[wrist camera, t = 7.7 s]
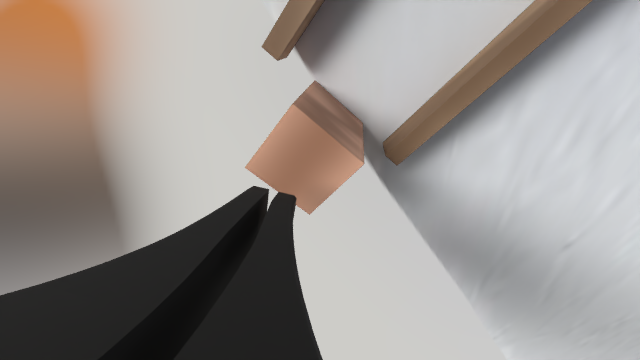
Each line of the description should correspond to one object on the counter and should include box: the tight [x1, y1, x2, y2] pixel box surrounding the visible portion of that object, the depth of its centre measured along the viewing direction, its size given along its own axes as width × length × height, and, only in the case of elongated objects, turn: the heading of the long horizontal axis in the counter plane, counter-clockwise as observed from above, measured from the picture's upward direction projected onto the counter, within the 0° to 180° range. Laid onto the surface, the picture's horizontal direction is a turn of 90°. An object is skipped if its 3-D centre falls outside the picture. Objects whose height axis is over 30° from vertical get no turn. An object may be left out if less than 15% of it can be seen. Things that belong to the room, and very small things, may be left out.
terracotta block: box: [245, 81, 364, 214], centre depth 14 cm, size 4×4×6 cm
